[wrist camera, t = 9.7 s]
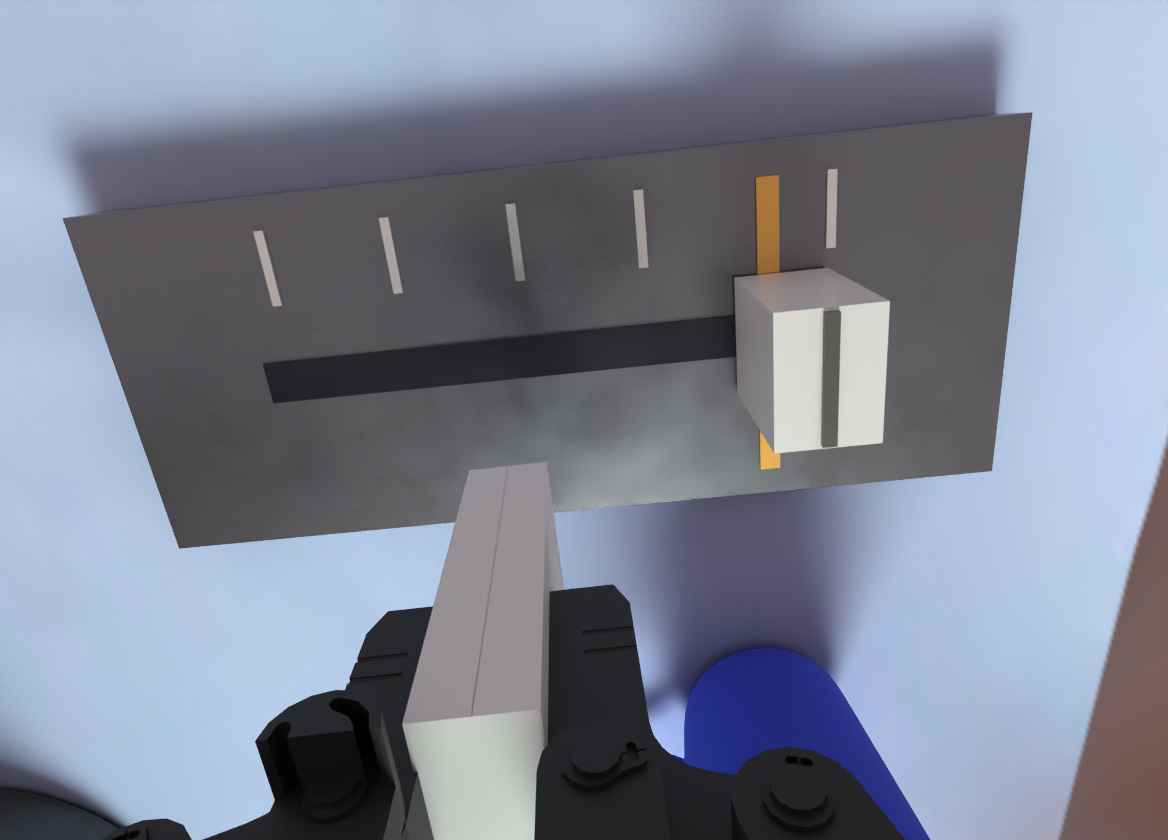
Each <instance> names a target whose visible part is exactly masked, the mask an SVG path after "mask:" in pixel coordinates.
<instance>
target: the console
mask: <svg viewBox="0 0 1168 840" xmlns="http://www.w3.org/2000/svg"><path fill="white" fill-rule="evenodd" d="M1031 119H1032V113H1010V114H993V115H984V116H975V117H966V118H957V119H948V120H939V121H929V122H920V123H911V124H902V125H893V126H884V127H875V128H865V129H856V130H847V131H838V132H829V133H820V134H811V135H801V136H792V137H783V138H774V139H765V140H756V141H747V142H738V143H728V144H719V145H710V146H701V147H692V148H683V149H674V150H664V151H655V152H646V153H637V154H628V155H619V156H610V157H600V158H591V159H582V160H573V161H564V162H555V163H546V164H536V165H527V166H518V167H509V168H500V169H491V170H482V171H472V172H463V173H454V174H445V175H436V176H427V177H418V178H408V179H399V180H390V181H381V182H372V183H363V184H354V185H344V186H335V187H326V188H317V189H308V190H299V191H290V192H280V193H271V194H262V195H253V196H244V197H235V198H226V199H216V200H207V201H198V202H189V203H180V204H171V205H162V206H152V207H143V208H134V209H125V210H116V211H107V212H99V213H93V214H87V215H81V216H75V217H69V218H63V221H64V224H65V226H66V229H67V232H68V235H69V238H70V241H71V243H72V246H73V249H74V252H75V255H76V258H77V260H78V263H79V266H80V269H81V272H82V275H83V277H84V280H85V283H86V286H87V289H88V292H89V294H90V297H91V300H92V303H93V306H94V308H95V311H96V314H97V317H98V320H99V323H100V325H101V328H102V331H103V334H104V337H105V340H106V342H107V345H108V348H109V351H110V354H111V357H112V359H113V362H114V365H115V368H116V371H117V374H118V376H119V379H120V382H121V385H122V388H123V391H124V393H125V396H126V399H127V402H128V405H129V408H130V410H131V413H132V416H133V419H134V422H135V425H136V427H137V430H138V433H139V436H140V439H141V441H142V444H143V447H144V450H145V453H146V456H147V458H148V461H149V464H150V467H151V470H152V473H153V475H154V478H155V481H156V484H157V487H158V490H159V492H160V495H161V498H162V501H163V504H164V507H165V509H166V512H167V515H168V518H169V521H170V524H171V526H172V529H173V532H174V535H175V538H176V541H177V543H178V546H179V548H189V547H200V546H210V545H221V544H231V543H242V542H252V541H263V540H273V539H284V538H294V537H305V536H315V535H326V534H336V533H346V532H357V531H367V530H378V529H388V528H399V527H409V526H420V525H430V524H441V523H451V522H456V519H457V515H458V511H459V507H460V503H461V500H462V496H463V492H464V488H465V485H466V481H467V477H468V473H469V470H476V469H486V468H495V467H504V466H513V465H522V464H531V463H540V462H547V467H548V474H549V482H550V489H551V497H552V504H553V512H554V513H556V512H567V511H577V510H588V509H598V508H608V507H619V506H629V505H640V504H650V503H661V502H671V501H682V500H692V499H703V498H713V497H724V496H734V495H745V494H755V493H766V492H776V491H787V490H797V489H808V488H818V487H829V486H839V485H850V484H860V483H871V482H881V481H891V480H902V479H912V478H923V477H933V476H944V475H954V474H965V473H975V472H986V471H992V465H993V456H994V447H995V439H996V430H997V421H998V412H999V403H1000V394H1001V385H1002V377H1003V368H1004V359H1005V350H1006V341H1007V332H1008V323H1009V314H1010V306H1011V297H1012V288H1013V279H1014V270H1015V261H1016V252H1017V244H1018V235H1019V226H1020V217H1021V208H1022V199H1023V190H1024V181H1025V173H1026V164H1027V155H1028V146H1029V137H1030V128H1031ZM821 268H829V269H831V270H833V271H835V272H837V273H838V274H840V275H842V276H844V277H846V278H848V279H850V280H852V281H853V282H855V283H857V284H859V285H861V286H863V287H865V288H867V289H868V290H870V291H872V292H874V293H876V294H878V295H880V296H882V297H883V298H885V299H887V300H889V301H890V310H889V330H888V349H887V369H886V388H885V408H884V427H883V443H878V444H868V445H858V446H847V447H837V448H827V449H816V450H806V451H796V452H785V453H775V454H774V452H773V451H772V449H771V447H770V446H769V444H768V443H767V441H766V439H765V438H764V436H763V434H762V433H761V431H760V430H759V428H758V426H757V425H756V423H755V422H754V420H753V418H752V417H751V415H750V413H749V412H748V410H747V409H746V407H745V405H744V404H743V402H742V400H741V399H740V397H739V396H738V394H737V358H736V321H735V285H734V277H744V276H754V275H763V274H773V273H783V272H792V271H802V270H811V269H821Z"/></svg>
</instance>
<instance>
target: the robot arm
mask: <svg viewBox="0 0 1168 840" xmlns="http://www.w3.org/2000/svg"><path fill="white" fill-rule="evenodd" d="M357 659H358V662H357V663H355V666H354V668H353V671H352V673H351V676H350V683H349V684H347V686H346V689H345V690H334V691H330V692H326V693H322V694H317V695H313V696H310V697H308V698H306V699H304V700H302V701H300V702H298V703H296V704H294V705H292V706H290V707H288V708H287V709H286V710H284V711H283V712H282V713H280V714H279V715H278V716H277V717H275V718H274V719H273V720H272V721H270V722H269V723H268V724H267V726H266V727H265V729H264V730H263V731H262V733H261V734H260V735H259V737H258V738H257V739H256V741H255V742H256V745H257V748H258V751H259V754H260V757H261V760H262V763H263V766H264V769H265V772H266V775H267V778H268V781H269V784H270V787H271V790H272V793H273V796H274V799H275V801H274V804H273V806H272V808H271V811H270V812H269V813H267V814H265V815H263V816H261V817H259V818H257V819H255V820H253V821H250V822H248V823H246V824H244V825H241V826H238V827H236V828H233V829H230V830H228V831H225V832H222V833H219V834H217V835H214V836H211V837H209V838H206V839H203V840H905V839H904V837H903V836H902V835H901V834H900V832H899V831H898V830H897V829H896V827H895V826H894V825H893V824H892V822H891V821H890V820H889V819H888V817H887V816H886V815H885V814H884V812H883V811H882V810H881V809H880V807H879V806H878V805H877V804H876V802H875V801H874V800H873V799H872V797H871V796H870V795H869V794H868V792H867V791H866V790H865V789H864V787H863V786H862V785H861V784H860V782H859V781H858V780H857V779H856V778H855V777H854V776H853V775H852V774H851V773H850V772H849V771H847V770H846V769H845V768H844V767H843V766H842V765H841V764H840V763H839V762H837V761H835V760H833V759H831V758H828V757H826V756H824V755H822V754H820V753H818V752H816V751H812V750H806V749H800V748H793V747H784V748H777V749H770V750H765V751H763V752H761V753H759V754H757V755H756V756H754V757H752V758H750V759H748V760H746V761H745V763H744V764H743V765H742V767H741V768H740V769H739V771H738V772H737V773H736V775H731V774H726V773H720V772H714V771H708V770H705V769H701V768H697V767H694V766H690V765H688V764H686V763H684V762H682V761H680V760H678V759H676V758H674V757H673V756H672V755H671V754H670V753H668V752H667V751H666V750H665V749H664V748H662V747H661V745H660V744H659V742H658V741H657V739H656V738H655V737H654V735H653V732H652V729H651V726H650V723H649V718H648V712H647V706H646V700H645V694H644V688H643V682H642V676H641V669H640V663H639V657H638V651H637V645H636V639H635V633H634V627H633V620H632V614H631V608H630V603H629V601H628V600H627V599H626V598H625V597H624V596H623V595H622V594H621V593H620V592H619V590H618V589H617V588H616V587H615V586H614V585H604V586H595V587H586V588H576V589H567V590H563V580H562V572H561V565H560V557H559V550H558V542H557V535H556V527H555V520H554V512H553V504H552V497H551V489H550V482H549V474H548V467H547V462H540V463H531V464H522V465H513V466H504V467H495V468H486V469H476V470H469V473H468V477H467V481H466V485H465V488H464V492H463V496H462V500H461V503H460V507H459V511H458V515H457V519H456V522H455V526H454V530H453V534H452V537H451V541H450V545H449V549H448V553H447V556H446V560H445V564H444V568H443V571H442V575H441V579H440V583H439V587H438V590H437V594H436V598H435V602H434V605H433V607H424V608H414V609H405V610H396V611H388V612H387V613H386V614H385V615H384V616H383V617H382V618H381V619H380V620H379V621H378V622H377V624H376V625H375V626H374V627H373V628H372V629H371V630H370V631H369V632H368V633H367V634H366V637H365V640H364V642H363V645H362V647H361V650H360V653H359V655H358V658H357ZM0 840H191V838H190V836H189V834H188V832H187V831H186V829H185V827H184V825H182V824H179V823H177V822H174V821H172V820H169V819H154V820H143V821H140V822H137V823H134V824H132V825H129V826H126V827H123V828H120V829H118V828H117V827H115V826H113V825H112V824H110V823H109V822H107V821H105V820H103V819H101V818H100V817H98V816H96V815H93V814H91V813H89V812H87V811H85V810H83V809H80V808H78V807H76V806H73V805H70V804H67V803H65V802H62V801H59V800H55V799H52V798H48V797H45V796H41V795H36V794H32V793H27V792H21V791H14V790H5V789H0Z"/></svg>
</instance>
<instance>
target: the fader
mask: <svg viewBox="0 0 1168 840" xmlns="http://www.w3.org/2000/svg"><path fill="white" fill-rule="evenodd" d="M734 285H735V321H736V358H737V394H738V396H739V397H740V399H741V400H742V402H743V404H744V405H745V407H746V409H747V410H748V412H749V413H750V415H751V417H752V418H753V420H754V422H755V423H756V425H757V426H758V428H759V430H760V431H761V433H762V434H763V436H764V438H765V439H766V441H767V443H768V444H769V446H770V447H771V449H772V451H773V452H774V454H775V453H785V452H796V451H806V450H816V449H827V448H837V447H847V446H858V445H868V444H878V443H883V427H884V408H885V388H886V369H887V349H888V330H889V310H890V301H889V300H887V299H885V298H883V297H882V296H880V295H878V294H876V293H874V292H872V291H870V290H868V289H867V288H865V287H863V286H861V285H859V284H857V283H855V282H853V281H852V280H850V279H848V278H846V277H844V276H842V275H840V274H838V273H837V272H835V271H833V270H831V269H829V268H821V269H811V270H802V271H792V272H783V273H773V274H763V275H754V276H744V277H734Z"/></svg>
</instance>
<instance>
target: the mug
mask: <svg viewBox="0 0 1168 840" xmlns="http://www.w3.org/2000/svg"><path fill="white" fill-rule="evenodd" d="M784 747H793V748H800V749H806V750H812V751H816V752H818V753H820V754H822V755H824V756H826V757H828V758H831V759H833V760H835V761H837V762H839V763H840V764H841V765H842V766H843V767H844V768H845V769H846V770H847V771H849V772H850V773H851V774H852V775H853V776H854V777H855V778H856V779H857V780H858V781H859V782H860V784H861V785H862V786H863V787H864V789H865V790H866V791H867V792H868V794H869V795H870V796H871V797H872V799H873V800H874V801H875V802H876V804H877V805H878V806H879V807H880V809H881V810H882V811H883V812H884V814H885V815H886V816H887V817H888V819H889V820H890V821H891V822H892V824H893V825H894V826H895V827H896V829H897V830H898V831H899V832H900V834H901V835H902V836H903V837H904V839H905V840H930V838H929V837H928V835H927V833H926V832H925V830H924V828H923V827H922V825H921V823H920V822H919V820H918V818H917V817H916V815H915V813H914V812H913V810H912V808H911V807H910V805H909V803H908V802H907V800H906V798H905V797H904V795H903V793H902V792H901V790H900V788H899V787H898V785H897V783H896V782H895V780H894V778H893V777H892V775H891V773H890V772H889V770H888V768H887V767H886V765H885V763H884V762H883V760H882V758H881V757H880V755H879V753H878V752H877V750H876V748H875V747H874V745H873V743H872V742H871V740H870V738H869V737H868V735H867V733H866V732H865V730H864V728H863V727H862V725H861V723H860V722H859V720H858V718H857V717H856V715H855V713H854V712H853V710H852V708H851V707H850V705H849V703H848V702H847V700H846V698H845V697H844V695H843V693H842V692H841V690H840V689H839V687H838V686H837V684H836V683H835V682H834V681H833V679H832V678H831V677H830V676H829V675H828V674H827V673H826V672H825V671H824V670H823V669H822V668H821V667H820V666H818V665H817V664H816V663H814V662H813V661H811V660H810V659H808V658H806V657H804V656H802V655H800V654H797V653H795V652H792V651H788V650H783V649H777V648H757V649H750V650H746V651H742V652H738V653H735V654H733V655H730V656H728V657H726V658H724V659H722V660H721V661H719V662H717V663H716V664H714V665H713V666H712V667H711V668H710V669H708V670H707V671H706V672H705V673H704V674H703V675H702V676H701V678H700V679H699V680H698V682H697V683H696V685H695V686H694V688H693V690H692V692H691V694H690V697H689V700H688V703H687V707H686V712H685V723H684V750H685V757H684V759H683V758H680V757H678V756H675V755H672V756H673V757H674V758H676V759H678V760H680V761H682V762H684V763H686V764H688V765H690V766H694V767H697V768H701V769H705V770H708V771H714V772H720V773H726V774H731V775H736V773H737V772H738V771H739V769H740V768H741V767H742V765H743V764H744V763H745V761H746V760H748V759H750V758H752V757H754V756H756V755H757V754H759V753H761V752H763V751H765V750H770V749H777V748H784Z"/></svg>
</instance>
